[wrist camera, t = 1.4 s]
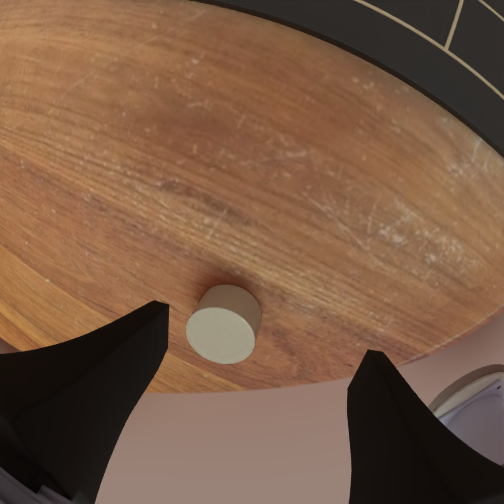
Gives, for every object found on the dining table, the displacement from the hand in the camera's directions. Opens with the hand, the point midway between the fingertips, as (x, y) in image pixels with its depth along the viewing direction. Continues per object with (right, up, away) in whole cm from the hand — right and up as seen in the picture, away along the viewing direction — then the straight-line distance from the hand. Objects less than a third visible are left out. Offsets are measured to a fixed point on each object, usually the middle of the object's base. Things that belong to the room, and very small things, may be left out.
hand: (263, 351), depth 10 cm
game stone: (-2, -1, +11) cm, 11 cm away
